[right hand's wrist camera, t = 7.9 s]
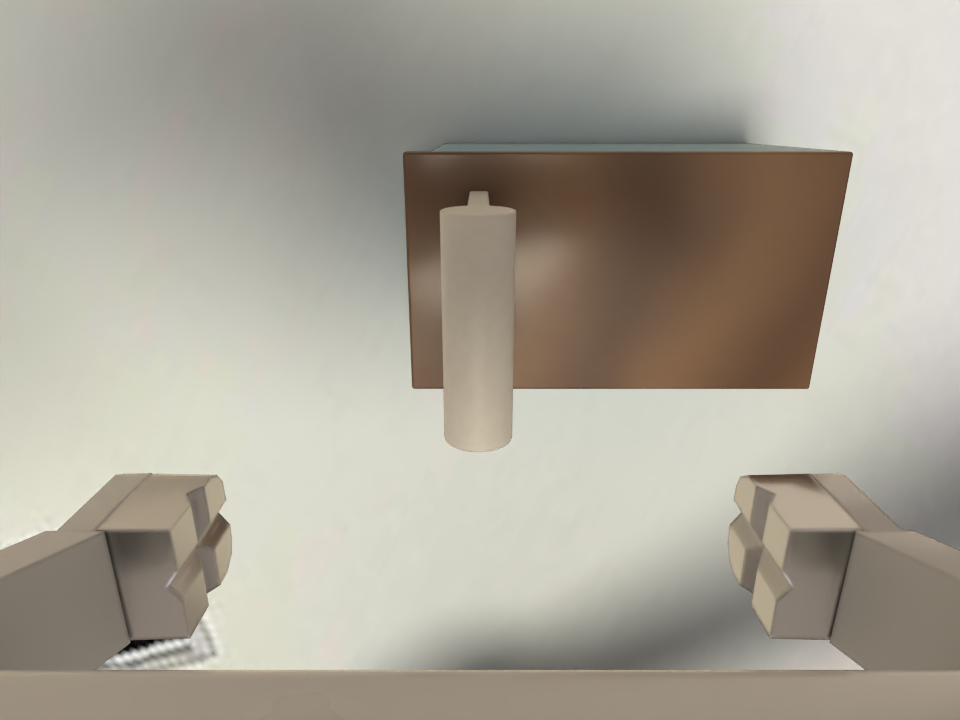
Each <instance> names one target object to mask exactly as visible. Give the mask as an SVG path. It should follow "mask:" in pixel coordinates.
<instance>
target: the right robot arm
mask: <svg viewBox="0 0 960 720" xmlns="http://www.w3.org/2000/svg"><path fill="white" fill-rule="evenodd" d="M225 501H226V496H225V491H224V486H223V481H222V480H221V479H220V478H219V477H218V476H217V475H194V474H151V473H136V474H119V475H115V476H114V477H113V478H112V479H111V480H110V481H109V482H108V483H107V484H106V485H105V486H103V487H102V488H101V489H100V490H99V491H98V492H97V493H96V494H95V495H94V496H93V497H92V498H91V499H90V500H89V501H88V502H87V503H86V504H85V505H84V506H82V507H81V508H80V509H79V510H78V511H77V512H76V513H75V514H74V515H73V516H72V517H71V518H70V519H69V520H68V521H67V522H66V523H65V524H64V525H63V526H61V527H60V528H59V529H58V530H57V531H45V532H43V533H40V534H38V535H36V536H33V537H31V538H28V539H26V540H24V541H21V542H19V543H17V544H14V545H12V546H10V547H7V548H5V549H2V550H0V720H960V550H957V549H955V548H953V547H950V546H948V545H946V544H943V543H941V542H939V541H936V540H934V539H931V538H929V537H927V536H924V535H922V534H920V533H917V532H915V531H903V530H902V529H901V528H900V527H899V526H898V525H896V524H895V523H894V522H893V521H892V520H891V519H890V518H889V517H888V516H887V515H886V514H885V513H884V512H883V511H882V510H881V509H880V508H879V507H878V506H877V505H876V504H875V503H873V502H872V501H871V500H870V499H869V498H868V497H867V496H866V495H865V494H864V493H863V492H862V491H861V490H860V489H859V488H858V487H857V486H856V485H855V484H854V483H853V482H851V481H850V480H849V479H848V478H847V477H846V476H845V475H842V474H839V473H824V474H784V475H747V476H740V478H739V481H738V483H737V485H736V490H735V496H734V501H735V503H736V504H737V506H738V507H739V509H740V510H741V513H740V515H739V516H738V517H737V518H736V519H735V520H734V521H733V522H732V523H731V524H730V528H729V537H728V551H729V561H730V564H731V567H732V570H733V573H734V575H735V577H736V579H737V581H738V583H739V585H741V586H742V587H744V588H745V589H747V590H748V591H750V592H752V593H753V598H752V604H751V606H752V608H753V610H754V611H755V613H756V615H757V617H758V618H759V620H760V622H761V624H762V625H763V627H764V629H765V630H766V632H767V634H768V636H769V637H770V638H776V639H813V640H830V643H831V644H832V645H833V646H835V647H836V648H837V649H839V650H840V651H841V652H843V653H844V654H845V655H847V656H848V657H849V658H850V659H852V660H853V661H854V662H856V663H857V664H858V665H860V666H861V667H862V668H864V669H865V670H95V669H97V668H98V667H99V666H101V665H102V664H103V663H105V662H106V661H107V660H108V659H110V658H111V657H112V656H114V655H115V654H116V653H118V652H119V651H120V650H122V649H123V648H124V647H125V646H127V645H128V644H129V643H130V640H146V639H182V638H191V636H192V634H193V632H194V631H195V629H196V627H197V625H198V624H199V622H200V620H201V618H202V617H203V615H204V613H205V611H206V610H207V608H208V606H209V604H208V598H207V593H208V592H210V591H212V590H213V589H215V588H216V587H218V586H219V585H221V583H222V581H223V579H224V577H225V575H226V573H227V571H228V567H229V563H230V558H231V554H232V535H231V528H230V524H229V523H228V522H227V521H226V520H225V519H224V518H223V517H222V516H221V515H220V513H219V510H220V509H221V507H222V506H223V504H224V503H225Z"/></svg>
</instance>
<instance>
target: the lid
mask: <svg viewBox="0 0 960 720" xmlns="http://www.w3.org/2000/svg"><path fill="white" fill-rule="evenodd" d="M852 156H853V153H852V152H846V151H407V152H404V154H403V165H404V191H405V216H406V242H407V267H408V292H409V318H410V343H411V369H412V387H413V388H414V389H444V433H445V440H446V441H447V443H448V444H449V445H451V446H452V447H454V448H457V449H460V450H463V451H469V452H488V451H493V450H497V449H500V448H502V447H504V446H506V445H507V444H508V443H509V442H510V441H511V439H512V412H513V389H808V388H809V384H810V379H811V374H812V369H813V363H814V358H815V353H816V347H817V342H818V337H819V331H820V326H821V321H822V316H823V310H824V305H825V300H826V294H827V289H828V284H829V278H830V273H831V268H832V262H833V257H834V252H835V247H836V241H837V236H838V231H839V225H840V220H841V215H842V209H843V204H844V199H845V193H846V188H847V183H848V178H849V172H850V167H851V162H852Z"/></svg>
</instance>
